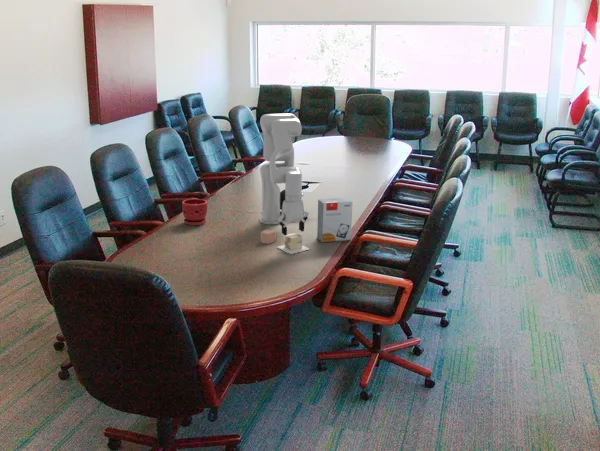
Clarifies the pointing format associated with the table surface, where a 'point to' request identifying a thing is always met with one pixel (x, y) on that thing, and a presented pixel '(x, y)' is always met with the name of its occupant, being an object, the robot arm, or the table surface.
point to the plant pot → (194, 211)
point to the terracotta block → (268, 236)
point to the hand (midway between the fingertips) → (293, 232)
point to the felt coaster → (293, 250)
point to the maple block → (293, 241)
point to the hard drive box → (334, 219)
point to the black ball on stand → (282, 200)
